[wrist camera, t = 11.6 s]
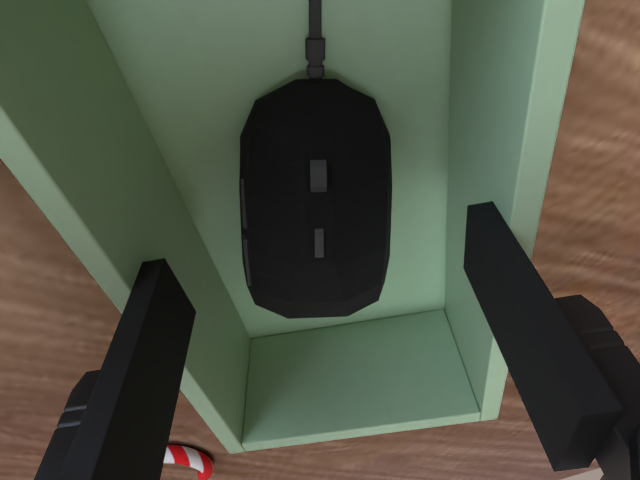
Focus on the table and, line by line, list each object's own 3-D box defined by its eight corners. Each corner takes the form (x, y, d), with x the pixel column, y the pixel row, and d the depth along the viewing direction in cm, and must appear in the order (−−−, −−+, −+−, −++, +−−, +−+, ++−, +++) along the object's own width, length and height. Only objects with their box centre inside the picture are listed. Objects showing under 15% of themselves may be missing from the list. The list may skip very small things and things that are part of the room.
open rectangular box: (242, 339, 25) (229, 454, 20) (20, -97, 12) (-185, -77, 7) (455, 306, 24) (498, 419, 19) (481, -211, 11) (648, -289, 6)
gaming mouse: (419, -30, 13) (459, -1, 10) (374, 298, 22) (387, 364, 19) (207, -30, 12) (179, 0, 9) (254, 302, 22) (249, 370, 19)
